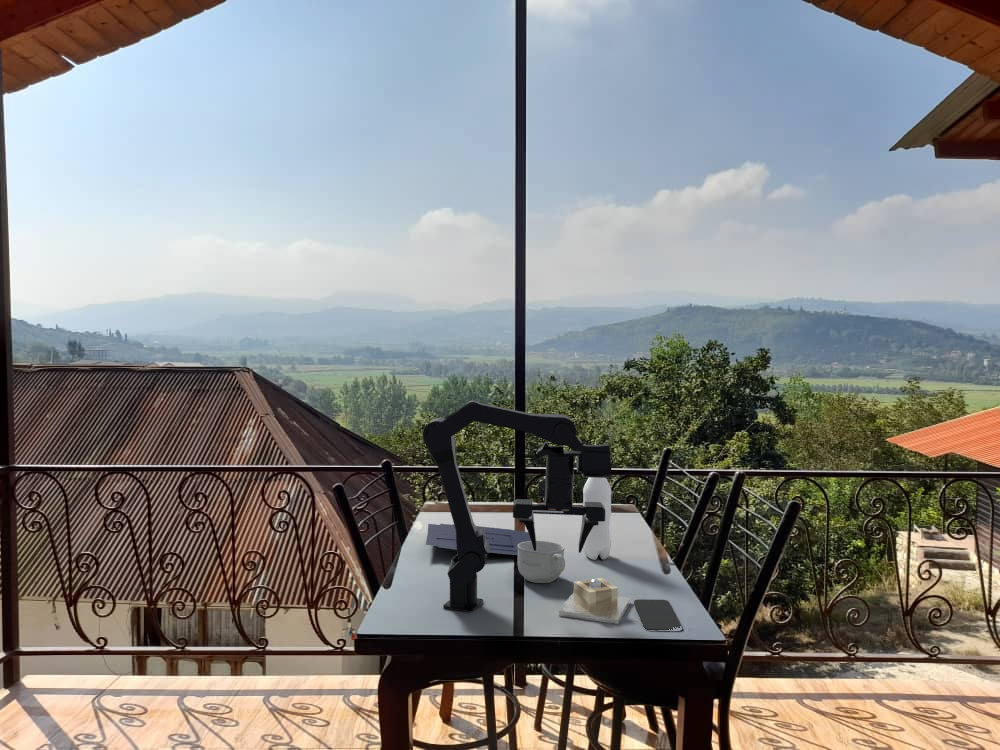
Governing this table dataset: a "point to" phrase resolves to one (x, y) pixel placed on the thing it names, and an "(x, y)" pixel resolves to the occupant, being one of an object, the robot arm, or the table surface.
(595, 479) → the water bottle
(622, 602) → the stand
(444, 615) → the table surface
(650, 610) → the phone
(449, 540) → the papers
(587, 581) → the collar
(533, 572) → the teacup
